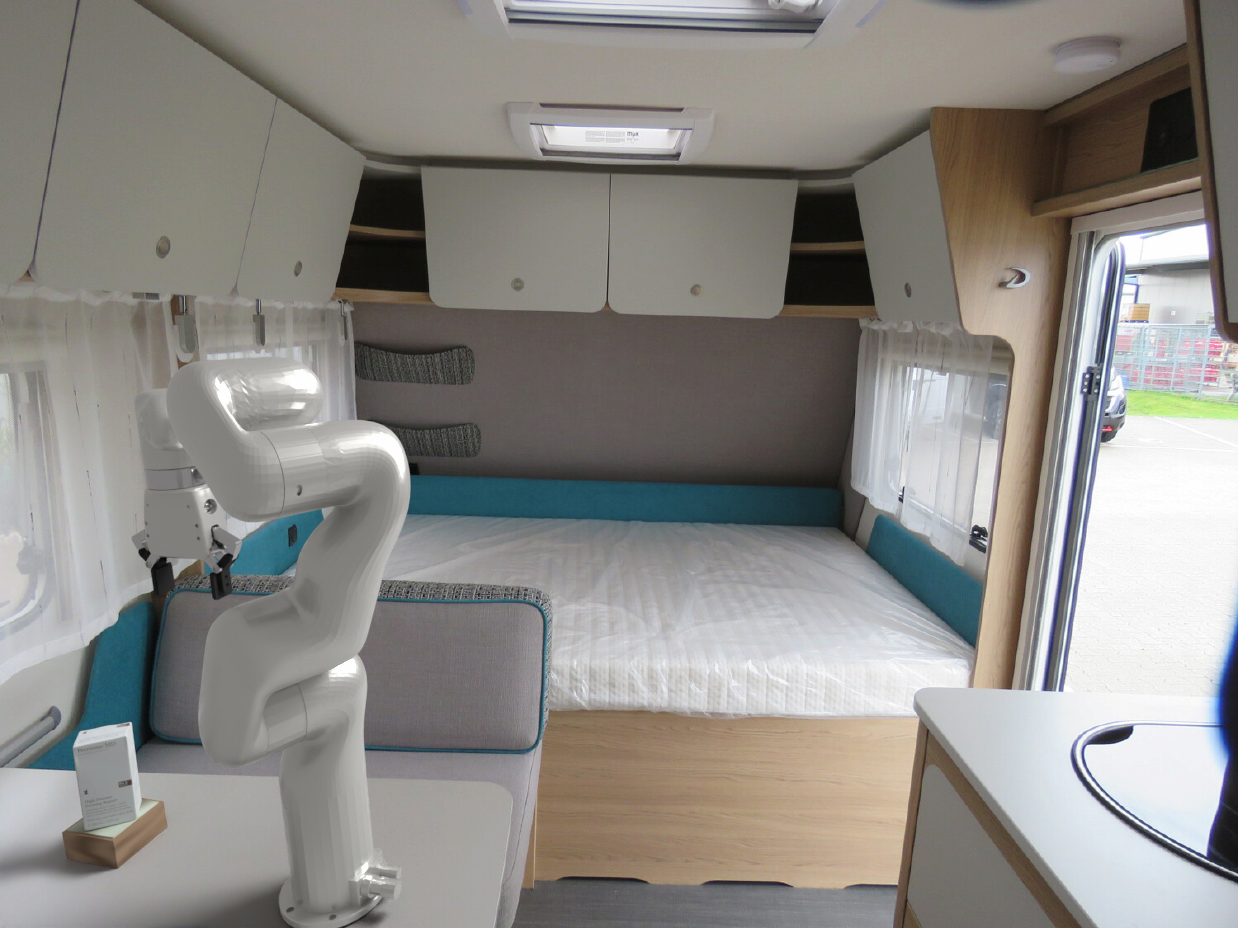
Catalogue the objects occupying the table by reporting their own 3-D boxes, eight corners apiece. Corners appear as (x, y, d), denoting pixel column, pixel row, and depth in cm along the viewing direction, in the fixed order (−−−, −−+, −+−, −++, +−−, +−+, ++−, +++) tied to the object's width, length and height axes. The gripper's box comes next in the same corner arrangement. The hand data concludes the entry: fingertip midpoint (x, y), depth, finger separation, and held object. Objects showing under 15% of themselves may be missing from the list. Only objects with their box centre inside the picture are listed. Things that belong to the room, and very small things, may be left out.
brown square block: (167, 826, 103) (163, 800, 102) (118, 868, 96) (113, 839, 95) (119, 819, 105) (115, 792, 104) (67, 859, 97) (61, 831, 96)
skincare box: (83, 833, 96) (68, 748, 94) (91, 812, 100) (76, 730, 98) (139, 818, 99) (126, 736, 96) (144, 799, 103) (131, 719, 100)
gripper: (250, 474, 105) (263, 588, 108) (147, 470, 109) (163, 581, 112) (211, 486, 98) (226, 608, 101) (102, 481, 102) (121, 600, 105)
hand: (193, 594), depth 107 cm, fingers open, 9 cm apart
